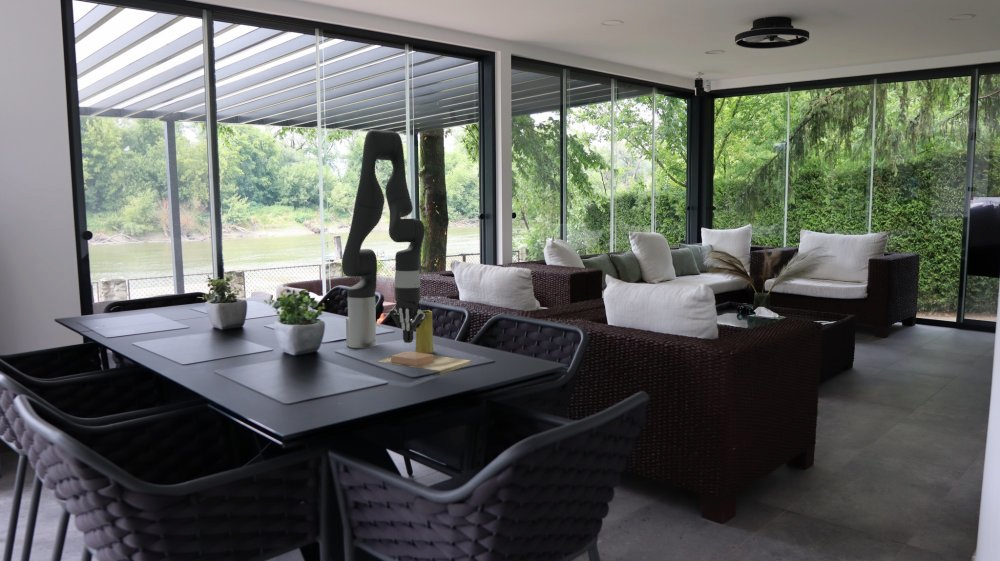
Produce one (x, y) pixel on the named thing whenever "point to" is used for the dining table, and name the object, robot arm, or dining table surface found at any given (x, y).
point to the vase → (425, 335)
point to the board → (437, 364)
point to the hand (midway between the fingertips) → (408, 342)
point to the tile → (412, 358)
